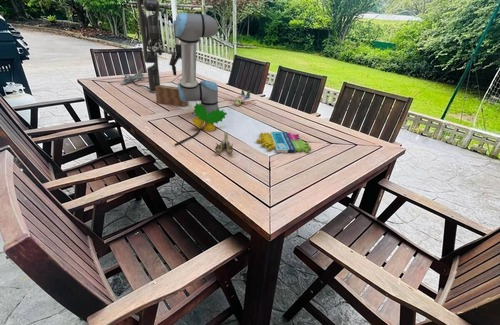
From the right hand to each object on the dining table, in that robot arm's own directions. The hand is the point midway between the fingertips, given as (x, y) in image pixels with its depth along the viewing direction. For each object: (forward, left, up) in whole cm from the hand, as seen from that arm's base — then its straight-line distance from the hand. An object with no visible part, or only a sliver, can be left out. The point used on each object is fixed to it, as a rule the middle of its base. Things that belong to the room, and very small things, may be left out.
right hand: (181, 74), depth 201 cm
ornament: (-61, -13, -21) cm, 65 cm away
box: (-7, +9, -21) cm, 24 cm away
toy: (-4, -47, -21) cm, 52 cm away
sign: (-87, -51, -21) cm, 103 cm away
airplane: (+72, +44, -21) cm, 87 cm away
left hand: (+7, +17, +12) cm, 22 cm away
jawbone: (-93, -16, -21) cm, 97 cm away
